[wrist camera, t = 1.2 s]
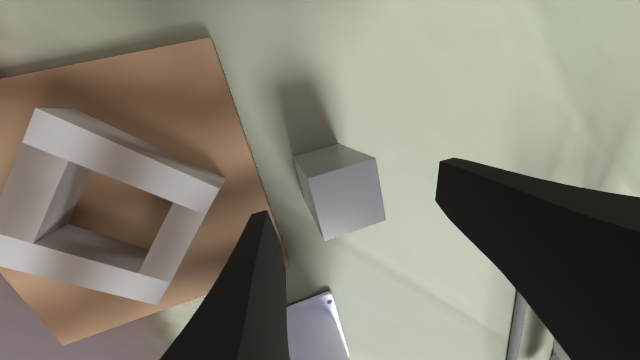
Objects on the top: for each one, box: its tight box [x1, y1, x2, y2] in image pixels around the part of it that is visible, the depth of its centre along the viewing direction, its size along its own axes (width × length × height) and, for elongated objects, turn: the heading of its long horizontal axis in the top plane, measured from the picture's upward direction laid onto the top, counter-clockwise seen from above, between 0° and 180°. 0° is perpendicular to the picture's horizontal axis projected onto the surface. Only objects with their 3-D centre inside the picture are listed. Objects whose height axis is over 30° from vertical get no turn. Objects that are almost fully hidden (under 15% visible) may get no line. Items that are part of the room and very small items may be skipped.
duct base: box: [0, 37, 289, 345], centre depth 15 cm, size 18×18×4 cm
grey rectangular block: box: [293, 144, 386, 241], centre depth 16 cm, size 4×4×7 cm
